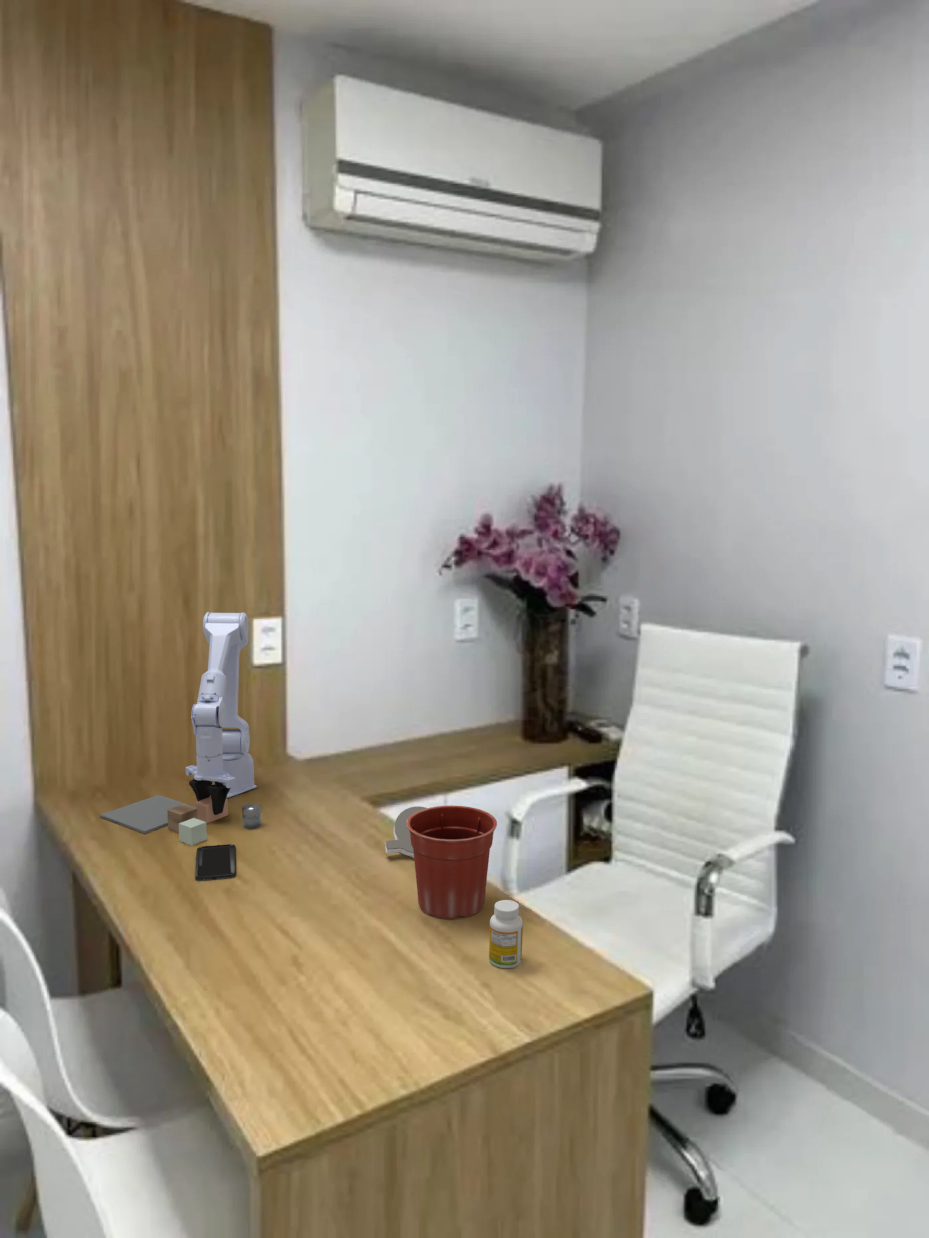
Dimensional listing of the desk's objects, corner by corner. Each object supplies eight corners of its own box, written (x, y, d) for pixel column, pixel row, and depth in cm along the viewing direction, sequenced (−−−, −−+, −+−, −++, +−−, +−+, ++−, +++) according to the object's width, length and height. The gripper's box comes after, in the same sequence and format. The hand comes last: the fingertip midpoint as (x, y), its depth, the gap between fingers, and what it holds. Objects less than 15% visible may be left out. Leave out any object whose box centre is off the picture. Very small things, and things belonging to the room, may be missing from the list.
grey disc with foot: (388, 860, 189) (383, 805, 193) (382, 866, 196) (377, 812, 200) (460, 853, 193) (453, 799, 197) (451, 859, 200) (445, 807, 204)
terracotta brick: (216, 811, 216) (215, 794, 215) (227, 815, 214) (227, 798, 213) (195, 819, 211) (194, 802, 211) (207, 823, 209) (206, 806, 208)
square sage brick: (194, 835, 202) (193, 817, 202) (206, 839, 200) (206, 822, 200) (179, 841, 199) (178, 823, 198) (191, 845, 197) (191, 827, 196)
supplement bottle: (502, 948, 157) (503, 894, 155) (528, 959, 154) (529, 904, 152) (482, 961, 153) (483, 905, 151) (508, 973, 150) (510, 916, 148)
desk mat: (159, 797, 224) (158, 794, 224) (203, 811, 216) (203, 809, 215) (100, 817, 211) (99, 814, 211) (144, 833, 203) (144, 831, 202)
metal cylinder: (252, 821, 211) (252, 801, 210) (264, 825, 209) (264, 805, 208) (238, 826, 207) (238, 807, 207) (251, 830, 205) (250, 811, 205)
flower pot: (416, 931, 163) (417, 843, 160) (397, 889, 178) (398, 809, 175) (506, 920, 167) (508, 834, 164) (480, 880, 183) (482, 802, 180)
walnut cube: (184, 823, 209) (183, 804, 208) (198, 827, 207) (197, 808, 206) (168, 829, 205) (167, 809, 205) (181, 834, 203) (180, 814, 202)
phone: (235, 843, 196) (236, 874, 182) (235, 848, 197) (236, 879, 182) (196, 846, 194) (193, 877, 180) (196, 852, 195) (194, 883, 180)
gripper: (174, 751, 211) (176, 809, 213) (217, 764, 203) (219, 823, 205) (199, 744, 217) (200, 800, 219) (242, 756, 208) (243, 814, 211)
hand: (211, 811), depth 212 cm, fingers closed on terracotta brick, 4 cm apart
